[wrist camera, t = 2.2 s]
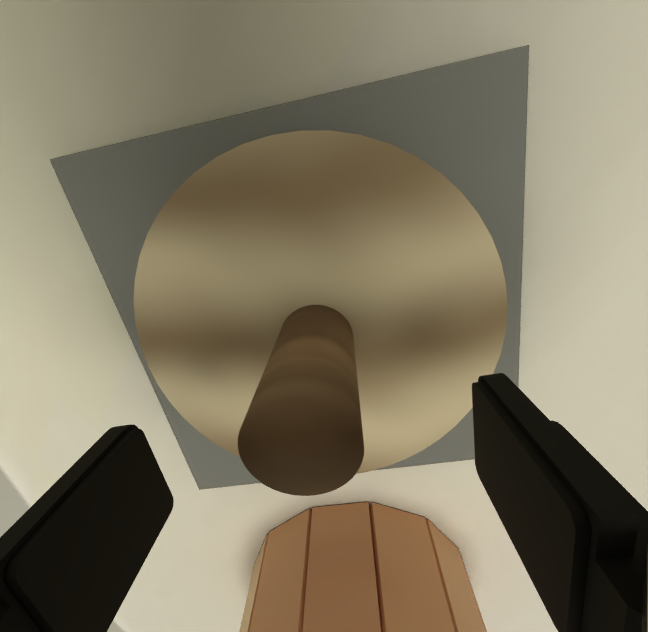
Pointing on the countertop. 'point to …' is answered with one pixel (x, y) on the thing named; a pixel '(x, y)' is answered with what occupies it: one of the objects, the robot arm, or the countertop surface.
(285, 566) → the ring
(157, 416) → the countertop surface
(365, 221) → the lid
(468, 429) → the mat
